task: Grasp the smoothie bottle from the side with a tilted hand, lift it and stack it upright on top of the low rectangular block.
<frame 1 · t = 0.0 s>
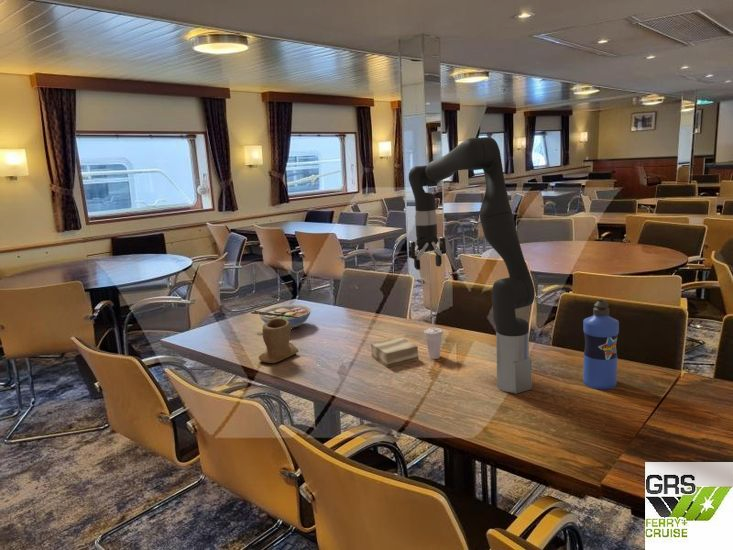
hand: (428, 267, 194), 29 cm above the table, tool pointing down, fingers open, 8 cm apart
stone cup: (281, 358, 198), on the table
smoothie: (434, 357, 188), on the table
water bottle: (599, 383, 158), on the table
ramen bowl: (287, 328, 234), on the table
low rectangular block: (394, 358, 189), on the table
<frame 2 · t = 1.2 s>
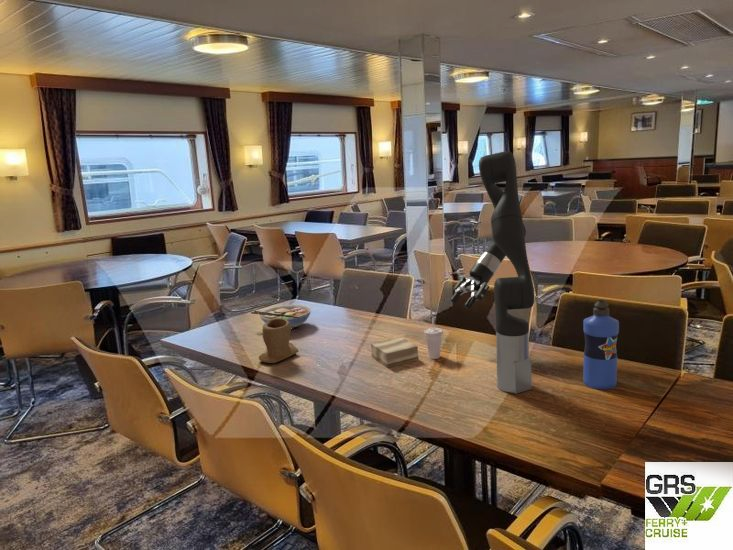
hand: (459, 304, 189), 17 cm above the table, tool tilted 45°, fingers open, 8 cm apart
nothing on the table moved.
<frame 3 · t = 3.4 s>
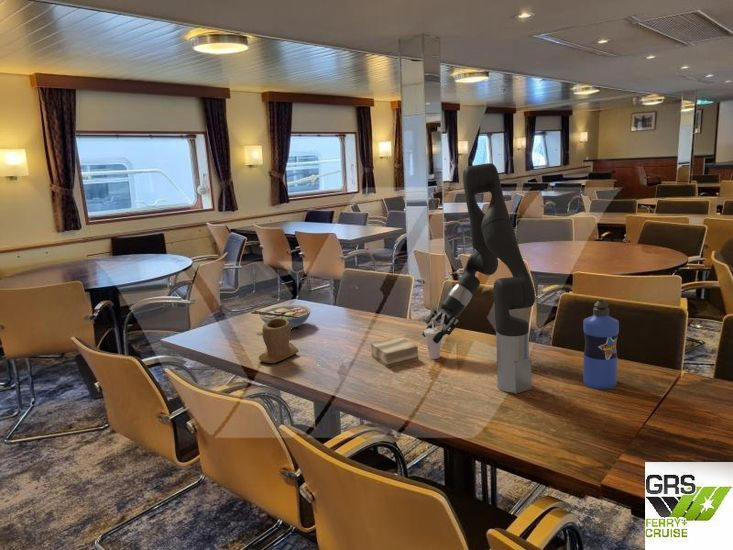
hand: (429, 339, 186), 7 cm above the table, tool tilted 45°, fingers closed on smoothie, 6 cm apart
smoothie: (434, 357, 188), on the table, touching gripper
everything else where it was.
when the fingers open (12 cm above the table, at t = 7.9 s): smoothie stays where it is, resting on low rectangular block.
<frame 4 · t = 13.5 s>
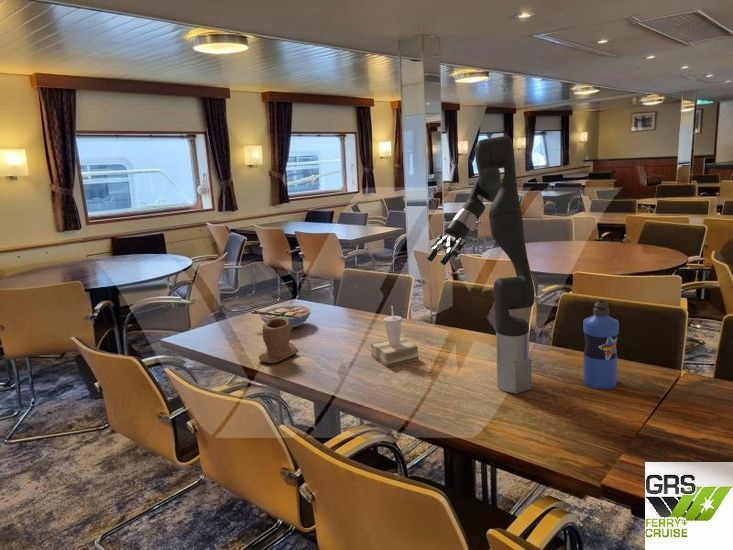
hand: (435, 261, 186), 33 cm above the table, tool tilted 45°, fingers open, 8 cm apart
smoothie: (394, 345, 188), point 5 cm above the table, touching low rectangular block
everything else where it was.
at the end: smoothie inside the target area on the low rectangular block (0.2 cm from its centre), point 4.8 cm above the low rectangular block's base; smoothie tilted 0°; the gripper is holding nothing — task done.
